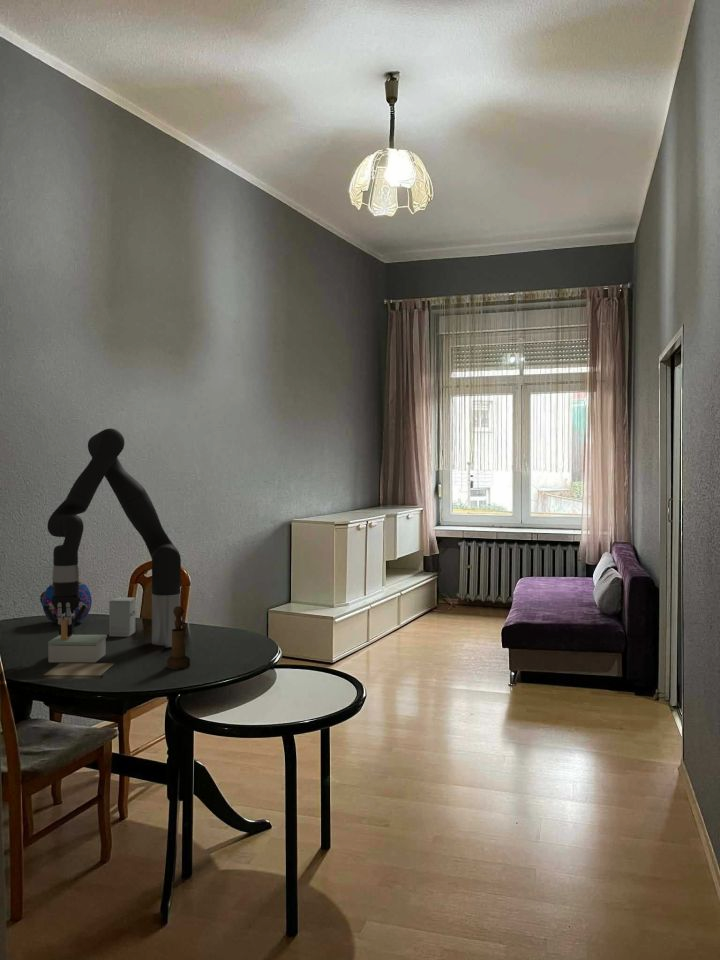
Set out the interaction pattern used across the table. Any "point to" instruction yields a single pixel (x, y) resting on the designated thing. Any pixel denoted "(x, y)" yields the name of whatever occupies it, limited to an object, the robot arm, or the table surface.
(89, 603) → the ceramic pot
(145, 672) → the table surface
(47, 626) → the table surface
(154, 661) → the table surface
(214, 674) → the table surface
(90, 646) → the tub
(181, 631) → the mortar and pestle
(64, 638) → the lid
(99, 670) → the board
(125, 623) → the supplement box
